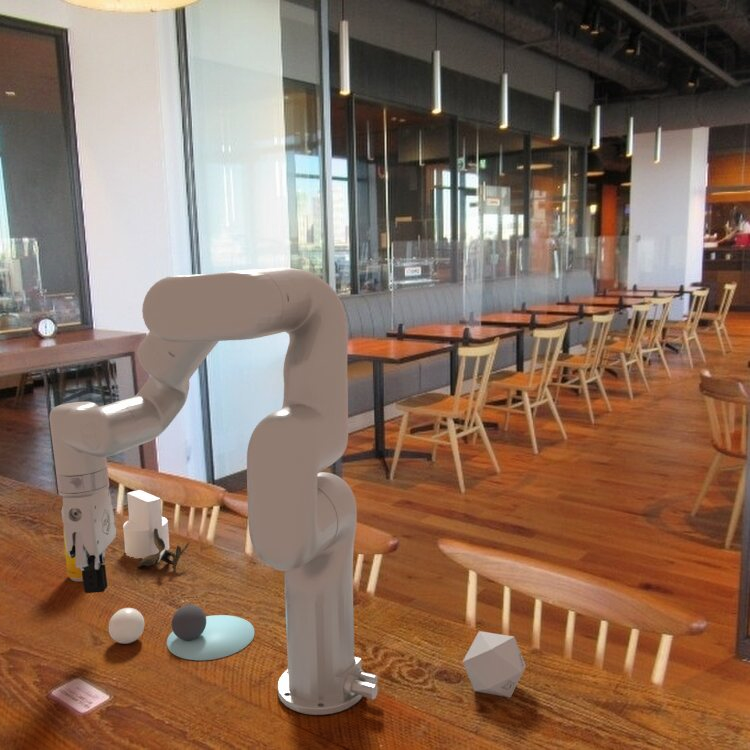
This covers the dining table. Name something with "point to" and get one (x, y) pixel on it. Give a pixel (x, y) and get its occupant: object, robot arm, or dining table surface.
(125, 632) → the cue ball
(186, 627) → the object ball
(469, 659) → the die
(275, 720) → the dining table surface
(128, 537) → the base with upright slab
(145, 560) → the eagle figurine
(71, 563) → the beer can
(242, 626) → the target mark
